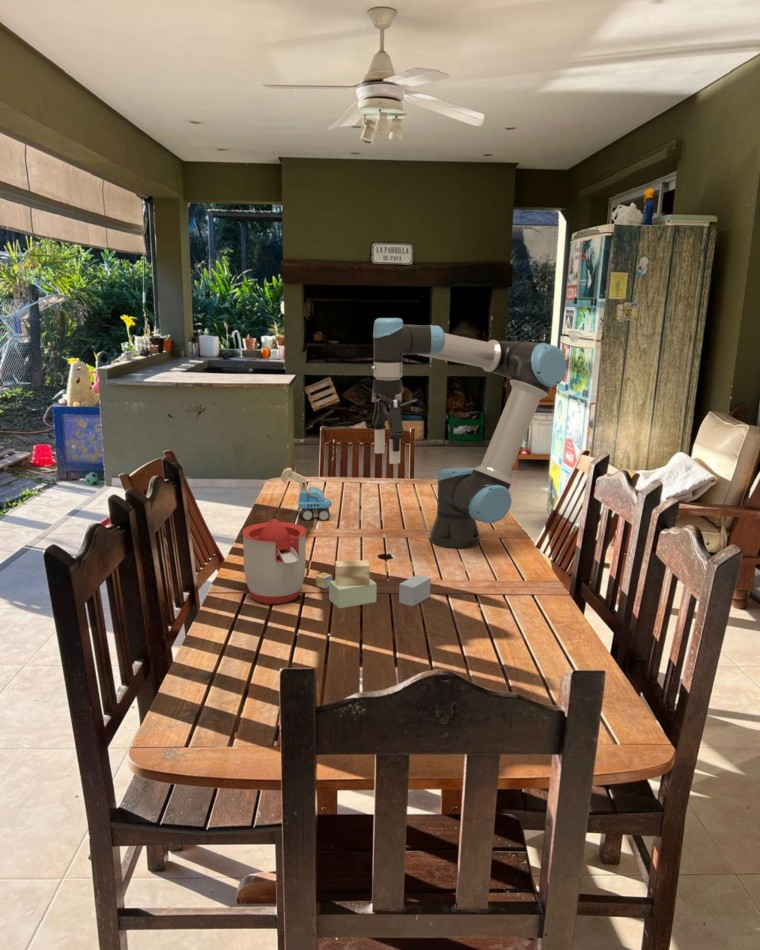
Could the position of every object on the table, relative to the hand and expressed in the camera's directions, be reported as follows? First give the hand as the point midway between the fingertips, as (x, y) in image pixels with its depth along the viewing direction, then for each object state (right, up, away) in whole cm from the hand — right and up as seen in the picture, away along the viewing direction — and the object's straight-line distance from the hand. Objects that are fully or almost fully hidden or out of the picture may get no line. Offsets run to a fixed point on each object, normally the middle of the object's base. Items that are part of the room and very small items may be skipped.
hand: (386, 458), depth 202 cm
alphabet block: (-16, -33, -7) cm, 38 cm away
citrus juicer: (-27, -35, -15) cm, 47 cm away
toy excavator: (-27, -19, +54) cm, 63 cm away
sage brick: (-9, -36, -16) cm, 40 cm away
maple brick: (-9, -31, -17) cm, 36 cm away
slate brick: (+7, -36, -14) cm, 39 cm away
